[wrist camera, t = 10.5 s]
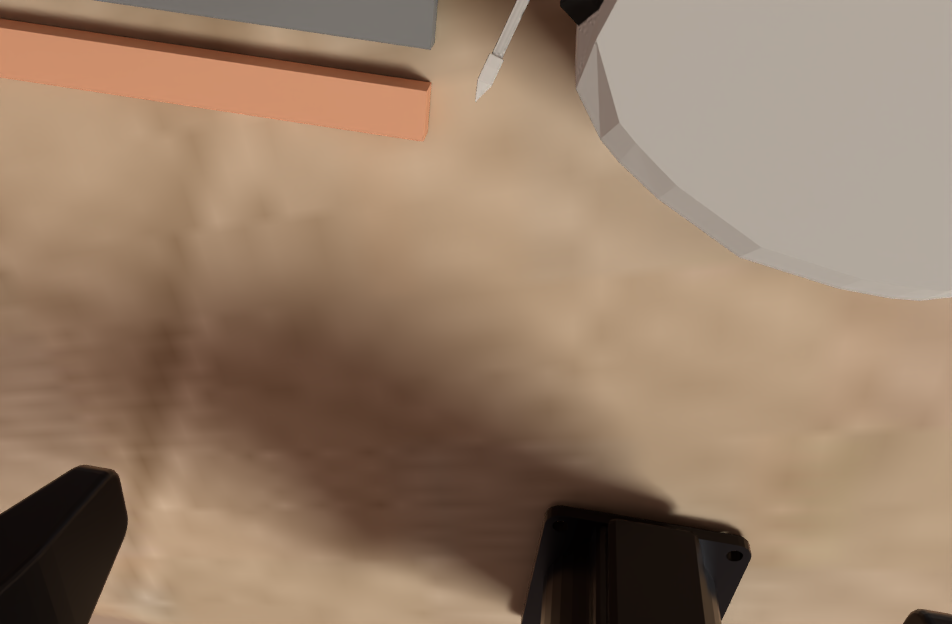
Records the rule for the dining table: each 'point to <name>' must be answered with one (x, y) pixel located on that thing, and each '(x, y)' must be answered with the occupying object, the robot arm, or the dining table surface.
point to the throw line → (215, 80)
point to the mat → (321, 16)
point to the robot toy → (782, 127)
